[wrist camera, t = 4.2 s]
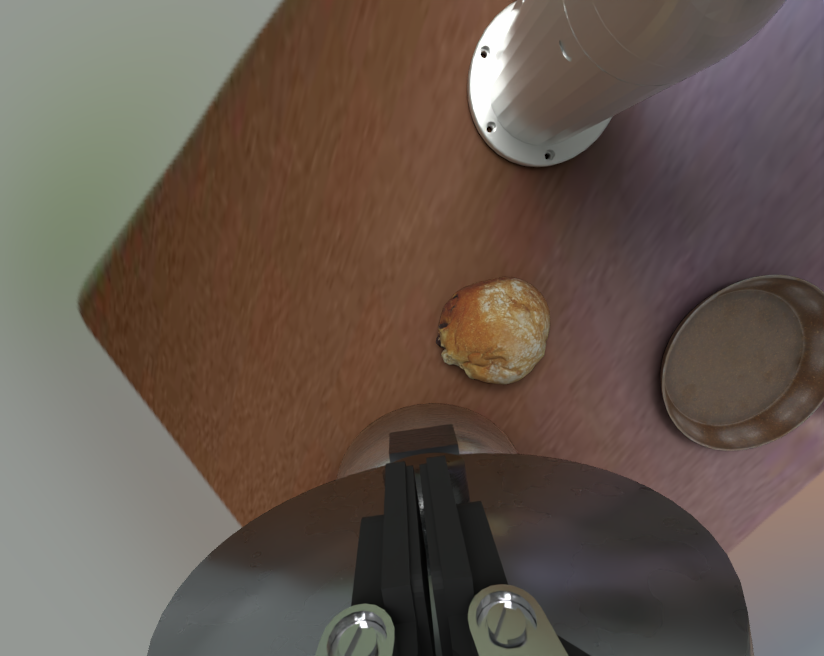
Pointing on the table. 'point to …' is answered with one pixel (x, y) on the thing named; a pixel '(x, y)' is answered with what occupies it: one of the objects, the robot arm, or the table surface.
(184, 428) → the table surface
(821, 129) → the table surface
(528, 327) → the bread roll
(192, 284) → the table surface
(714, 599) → the cooker lid
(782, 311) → the plant saucer
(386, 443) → the cooker pot
